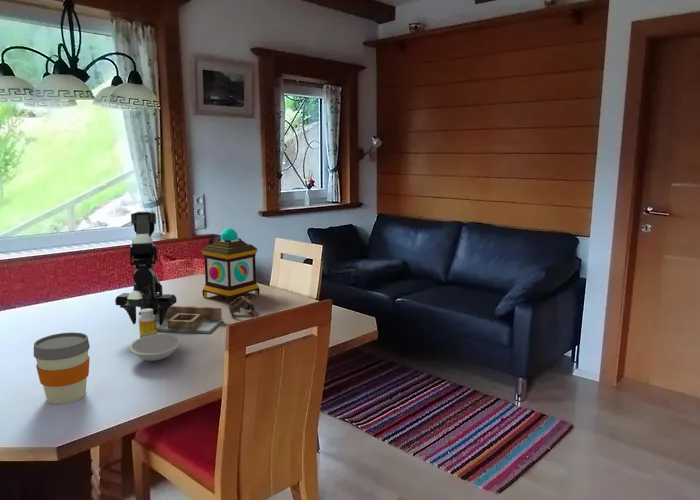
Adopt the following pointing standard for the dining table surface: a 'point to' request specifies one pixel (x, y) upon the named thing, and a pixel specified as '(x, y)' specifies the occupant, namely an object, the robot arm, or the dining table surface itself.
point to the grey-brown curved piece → (242, 305)
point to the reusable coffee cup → (63, 366)
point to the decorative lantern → (230, 266)
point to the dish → (155, 346)
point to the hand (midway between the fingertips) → (147, 324)
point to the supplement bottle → (147, 323)
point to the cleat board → (191, 319)
